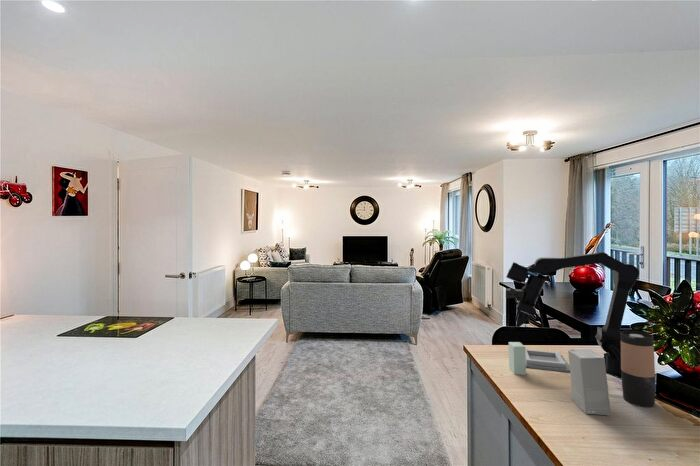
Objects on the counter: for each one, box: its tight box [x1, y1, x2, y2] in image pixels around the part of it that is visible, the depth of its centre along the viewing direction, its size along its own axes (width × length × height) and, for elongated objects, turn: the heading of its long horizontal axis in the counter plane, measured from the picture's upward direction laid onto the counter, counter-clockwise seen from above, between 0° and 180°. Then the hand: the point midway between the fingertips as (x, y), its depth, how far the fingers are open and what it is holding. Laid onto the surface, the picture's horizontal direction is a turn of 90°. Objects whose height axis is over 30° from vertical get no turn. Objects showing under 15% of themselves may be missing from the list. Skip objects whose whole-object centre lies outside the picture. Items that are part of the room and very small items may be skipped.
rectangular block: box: [508, 341, 527, 375], centre depth 122 cm, size 4×5×10 cm
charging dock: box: [525, 348, 570, 373], centre depth 130 cm, size 16×16×2 cm
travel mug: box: [620, 330, 656, 408], centre depth 99 cm, size 8×8×20 cm
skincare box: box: [567, 349, 611, 416], centre depth 96 cm, size 8×7×16 cm
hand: (516, 323), depth 132 cm, fingers open, 9 cm apart
